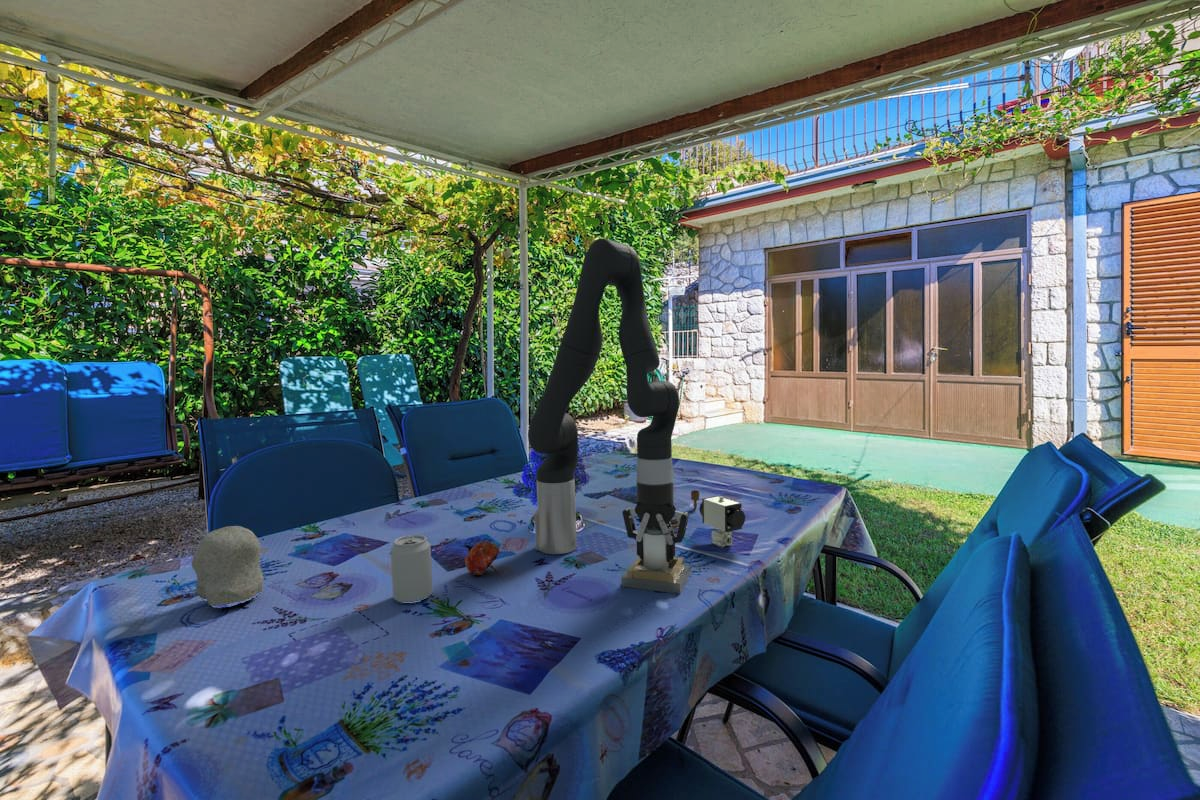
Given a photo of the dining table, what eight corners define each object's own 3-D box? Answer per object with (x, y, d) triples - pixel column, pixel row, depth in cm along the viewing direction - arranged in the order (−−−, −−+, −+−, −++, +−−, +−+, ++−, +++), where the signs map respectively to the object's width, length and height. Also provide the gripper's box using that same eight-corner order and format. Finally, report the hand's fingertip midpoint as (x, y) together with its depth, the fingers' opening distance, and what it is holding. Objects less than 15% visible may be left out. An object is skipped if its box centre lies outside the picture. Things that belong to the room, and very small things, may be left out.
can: (391, 608, 108) (388, 547, 107) (394, 592, 115) (391, 535, 114) (432, 603, 110) (429, 542, 109) (433, 587, 117) (430, 531, 116)
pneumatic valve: (731, 553, 132) (730, 503, 131) (698, 539, 142) (698, 493, 141) (748, 549, 135) (748, 499, 134) (715, 535, 145) (715, 489, 144)
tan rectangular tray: (621, 586, 115) (621, 569, 115) (635, 568, 124) (635, 553, 124) (680, 593, 111) (679, 576, 110) (690, 574, 120) (689, 558, 120)
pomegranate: (502, 577, 127) (470, 548, 129) (517, 555, 125) (484, 526, 126) (483, 593, 121) (450, 562, 123) (498, 571, 118) (464, 539, 120)
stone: (272, 598, 114) (267, 525, 112) (213, 621, 104) (206, 541, 103) (242, 587, 119) (236, 518, 118) (183, 608, 110) (177, 533, 109)
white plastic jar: (640, 568, 116) (639, 531, 115) (647, 559, 121) (646, 523, 120) (665, 571, 114) (664, 533, 113) (671, 561, 119) (670, 525, 118)
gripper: (615, 480, 115) (617, 562, 116) (685, 485, 110) (686, 569, 111) (626, 473, 122) (628, 550, 123) (693, 476, 117) (694, 556, 118)
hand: (656, 559), depth 117 cm, fingers closed on white plastic jar, 5 cm apart
